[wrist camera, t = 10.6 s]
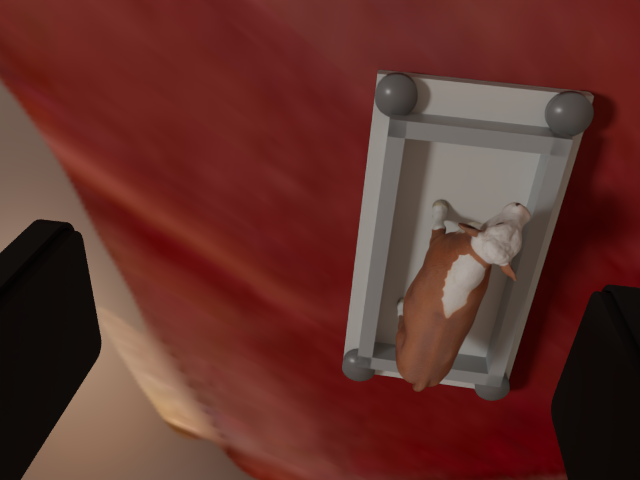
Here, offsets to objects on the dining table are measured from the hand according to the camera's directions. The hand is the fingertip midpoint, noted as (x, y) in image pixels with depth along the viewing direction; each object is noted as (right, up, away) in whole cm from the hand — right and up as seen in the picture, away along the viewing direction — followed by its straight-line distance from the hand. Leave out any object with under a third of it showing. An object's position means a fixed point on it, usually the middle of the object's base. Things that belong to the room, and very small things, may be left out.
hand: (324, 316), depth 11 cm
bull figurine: (+8, +1, +28) cm, 29 cm away
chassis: (+8, +1, +29) cm, 30 cm away
